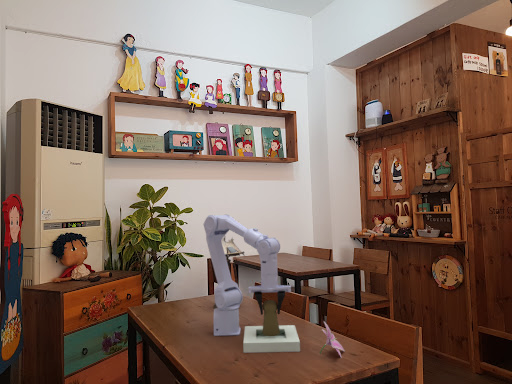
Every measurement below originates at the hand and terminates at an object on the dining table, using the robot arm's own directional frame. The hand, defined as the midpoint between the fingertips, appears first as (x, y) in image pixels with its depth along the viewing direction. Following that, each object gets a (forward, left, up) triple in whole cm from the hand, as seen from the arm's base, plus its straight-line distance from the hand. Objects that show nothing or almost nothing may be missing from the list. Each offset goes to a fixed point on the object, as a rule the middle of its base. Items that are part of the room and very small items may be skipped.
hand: (270, 313), depth 131 cm
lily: (+19, -12, -10) cm, 24 cm away
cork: (0, +1, -7) cm, 7 cm away
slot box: (0, 0, -10) cm, 10 cm away
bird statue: (-17, +47, -10) cm, 51 cm away
